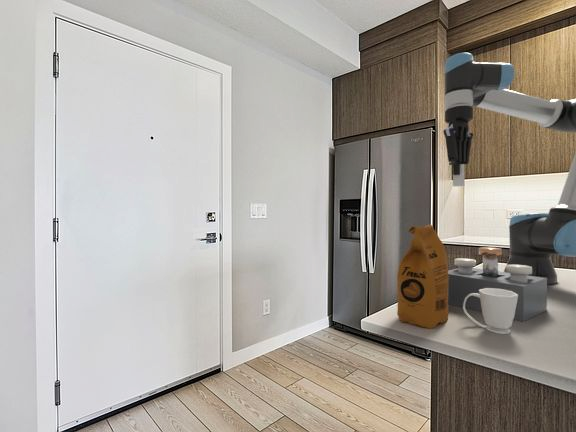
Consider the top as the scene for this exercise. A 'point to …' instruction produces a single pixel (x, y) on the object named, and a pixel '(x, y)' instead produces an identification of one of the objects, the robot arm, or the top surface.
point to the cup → (496, 309)
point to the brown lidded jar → (490, 261)
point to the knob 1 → (465, 265)
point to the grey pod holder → (529, 293)
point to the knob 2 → (519, 272)
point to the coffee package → (423, 280)
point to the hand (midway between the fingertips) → (458, 186)
